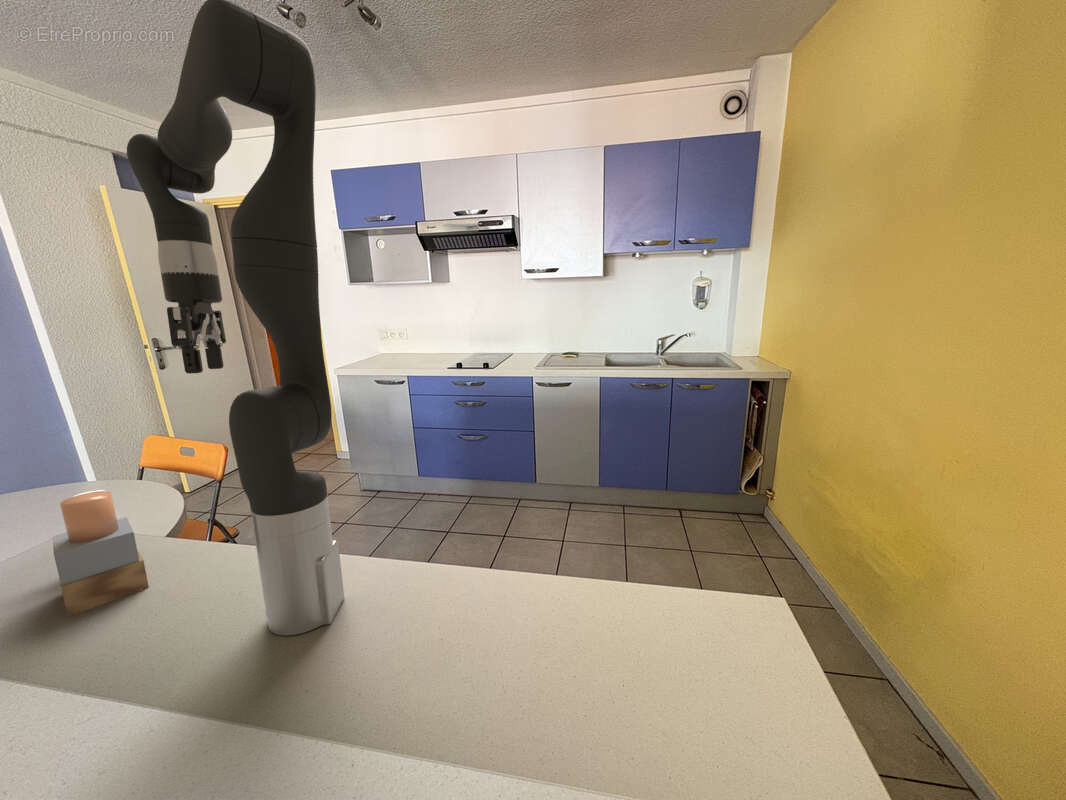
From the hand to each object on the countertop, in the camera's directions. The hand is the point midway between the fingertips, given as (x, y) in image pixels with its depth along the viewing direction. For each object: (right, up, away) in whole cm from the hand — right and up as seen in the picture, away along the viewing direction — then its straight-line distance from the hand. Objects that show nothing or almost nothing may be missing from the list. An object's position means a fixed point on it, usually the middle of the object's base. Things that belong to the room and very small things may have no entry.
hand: (206, 370), depth 73 cm
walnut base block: (-13, -36, -4) cm, 38 cm away
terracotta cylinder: (-13, -26, -6) cm, 30 cm away
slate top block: (-13, -31, -5) cm, 34 cm away
